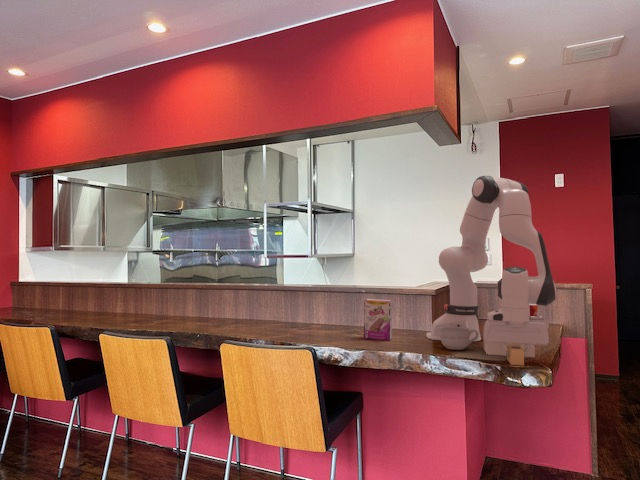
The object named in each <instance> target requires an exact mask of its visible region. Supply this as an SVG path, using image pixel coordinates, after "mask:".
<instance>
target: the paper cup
mask: <svg viewBox="0 0 640 480" xmlns="http://www.w3.org/2000/svg"><path fill="white" fill-rule="evenodd" d="M529 306H530V316H536V317H538V308H539V305H536V304H529Z"/></svg>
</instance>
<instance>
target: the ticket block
mask: <svg viewBox="0 0 640 480" xmlns="http://www.w3.org/2000/svg"><path fill="white" fill-rule="evenodd" d="M507 344H508V345H520V346H521V347H522V348H523V350H525V348H526V347H525V344H513V343H506V346H504V347H505V349H506V350H507ZM535 347H536V345H532V344H530V349H529V351H528V352H527V358H536V355H535V354H536V353H535V352H536V349H535ZM483 350H485V351H484V353H485V352H486V353H485V354H486V355H487V354H488V355H490V356H503V357H505V356H504V350H503V348H502V347H501V345H500V343H495V342H486V341H485V340H484V339H483Z"/></svg>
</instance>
